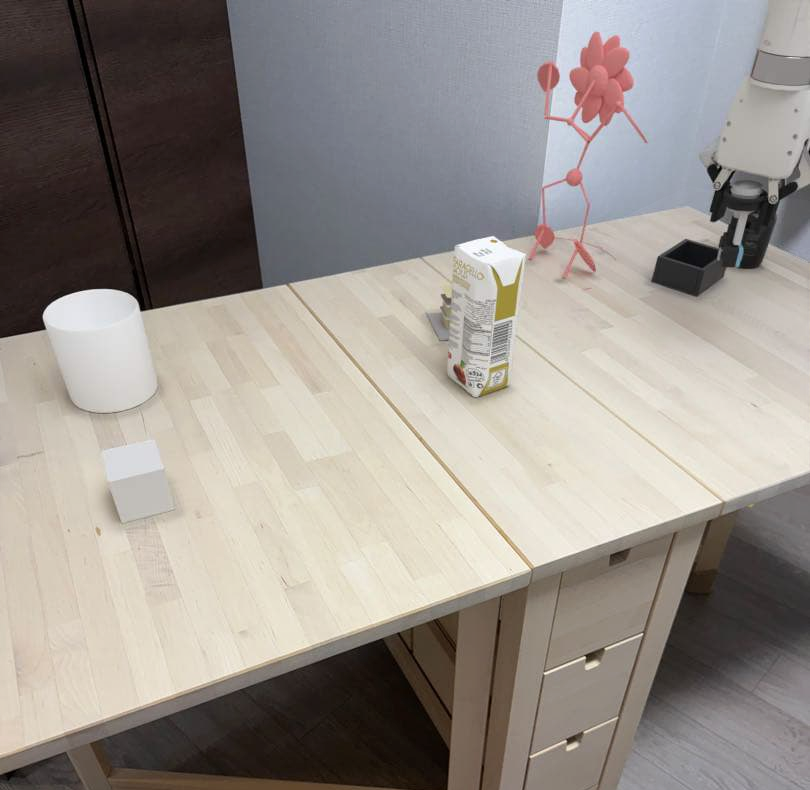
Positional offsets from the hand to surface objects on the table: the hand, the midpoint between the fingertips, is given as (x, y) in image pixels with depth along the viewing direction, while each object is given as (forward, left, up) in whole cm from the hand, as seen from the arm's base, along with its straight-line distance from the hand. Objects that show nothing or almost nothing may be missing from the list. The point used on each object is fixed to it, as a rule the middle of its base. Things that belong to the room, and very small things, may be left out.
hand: (738, 223), depth 100 cm
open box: (+13, -23, -19) cm, 32 cm away
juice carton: (+20, +29, -19) cm, 40 cm away
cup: (+56, +65, -19) cm, 88 cm away
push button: (0, 0, -5) cm, 5 cm away
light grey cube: (+33, +76, -19) cm, 85 cm away
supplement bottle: (+9, -37, -19) cm, 42 cm away
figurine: (+32, -16, -19) cm, 40 cm away
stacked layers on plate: (+32, +17, -19) cm, 41 cm away
